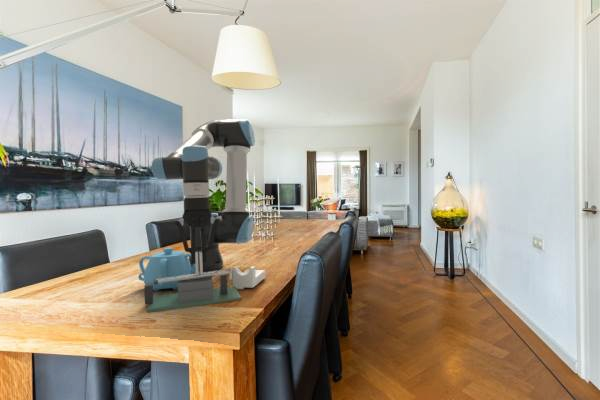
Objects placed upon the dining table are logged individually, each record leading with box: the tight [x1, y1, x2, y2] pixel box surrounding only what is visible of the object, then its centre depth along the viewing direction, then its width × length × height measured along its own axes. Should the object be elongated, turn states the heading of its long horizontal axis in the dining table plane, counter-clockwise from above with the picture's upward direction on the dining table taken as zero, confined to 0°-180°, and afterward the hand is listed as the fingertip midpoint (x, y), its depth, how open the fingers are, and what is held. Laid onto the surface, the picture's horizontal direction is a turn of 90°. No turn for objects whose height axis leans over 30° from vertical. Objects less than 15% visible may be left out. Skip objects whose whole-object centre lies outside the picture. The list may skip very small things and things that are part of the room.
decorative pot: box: [138, 247, 196, 292], centre depth 114 cm, size 16×16×14 cm
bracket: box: [232, 265, 266, 290], centre depth 116 cm, size 13×7×8 cm, turn 167°
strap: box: [153, 268, 233, 284], centre depth 100 cm, size 3×23×3 cm, turn 110°
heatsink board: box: [144, 274, 242, 313], centre depth 100 cm, size 12×27×6 cm, turn 111°
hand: (199, 273), depth 100 cm, fingers closed, pressing on strap
